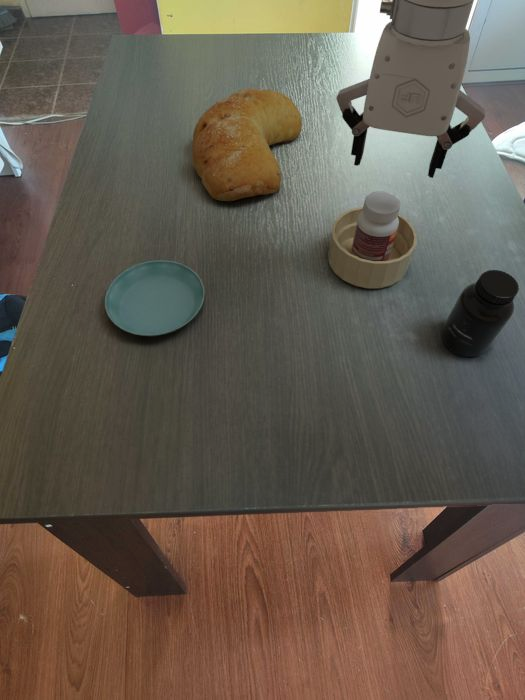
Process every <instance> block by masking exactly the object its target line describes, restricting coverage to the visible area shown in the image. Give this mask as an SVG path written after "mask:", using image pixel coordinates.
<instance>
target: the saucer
mask: <svg viewBox="0 0 525 700" xmlns="http://www.w3.org/2000/svg"><path fill="white" fill-rule="evenodd" d="M205 289H206V288H205V286H204V283H203V279H202V278H201V277H200V275H199V274H198V273H197V272H196V271H195V270H193V268H191V267H189V266H188V265H186V264H184V263H181V262H178V261H175V260H165V259H158V260H157V259H155V260H149V261H144V262H141V263H138V264H135V265H133V266H130V267H129V268H127V269H125V270H124V271H122V272H121V273H119V275H117V276H116V277H115V278H114V279H113V281H112V282H111V283H110V285H109V287H108V288H107V290H106V293H105V297H104V307H105V311H106V312H105V313H106V315H107V317H108V318H109V319H110V321H111V322H112V323H113V325H115V326H116V327H118V328H119V329H121V330H122V331H124V332H127V333H130V334H132V335H136V336H142V337H158V336H164V335H168V334H171V333H174V332H175V331H178V330H180V329H182V328H183V327H184V326H186V325H188V324H189V323H190V322H191V321H192V320H193V319H195V317H196V316H197V315H198V313H199V312H200V310H201V309H202V308H203V307H202V306H203V304H204V301H205V296H206V290H205Z"/></svg>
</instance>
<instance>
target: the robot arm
mask: <svg viewBox="0 0 525 700" xmlns="http://www.w3.org/2000/svg"><path fill="white" fill-rule="evenodd" d="M380 1H381V2H380V8H379V14H386V16H389V20H391V21H390V22H388V23H386V24H385V26H384V28H383V30H382V32H381V34H380V37H379V41H378V43H377V47H376V49H375V54H374V58H373V63H372V66H371V71H370V75H369V78H367V79H365V80H363V81H359V82H357V83H354V84H352V85H350V86H349V85H348V86H347V87H344V88H342V89H340V90H339V91H338V93H337V95H336V102H337V105H338V108H339V110H340V112H341V117H342V119H343V121H344V122H345V123H346V125H347V126H348V127H349V129H350V131H351V135H353V139H352V145H351V151H350V155H351V156H355V157H354V162H353V166H357V167H358V166H360V165H361V163H362V159H363V156H364V151H365V146H366V141H367V140H366V139H367V135H368V129H369V128H372V129H377V130H382V131H389V132H395V133H401V134H402V133H403V134H408V135H416V136H423V137H424V136H425V137H436V142H435V146H434V149H433V152H432V155H431V158H430V162H429V166H428V171H427V172H428V173H427V177H428V178H431V179H434V177H435V173H436V171H437V169H438V170H442V169H443V165H444V162H445V159H446V156H447V153H448V150H451V148H452V147H453V145H455V144H457V143H459V142H460V141H462V140H464V139H465V138H467V137H468V136H469V135H470V133H471V132H472V131H473V130H475V128H477V127H478V126H479V124H481V123H482V121H483V120H484V119H485V117H486V109H485V108H484V107H482V106H481V105H480V104H479V103H478V102H476V101H475V100H473V98H471V97H470V96H468V94H466V93H465V92H464V91H462V90H461V88H462V83H463V79H464V76H465V72H466V67H467V63H468V57H469V51H470V42H471V35H470V31H469V30H468V29H467V26H468V22H469V18H470V16H471V12H472V8H473V5H474V1H475V0H380ZM362 97H365V100H364V104H363V111H362V113H360V114H359V112H358V111H357V110H356V108H355V107H354V105H353V104H352V103H353V102H352V101H354V100H357V99H360V98H362ZM456 109H457V110H458V111H460V112H461V113H462V114H463V115H465V116H467V117H466V118H465V119H464V121H461V122H460V123H458V124H456V125H455V126H453V127H452V125H451V122H452V118H453V116H454V113H455V110H456Z"/></svg>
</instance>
